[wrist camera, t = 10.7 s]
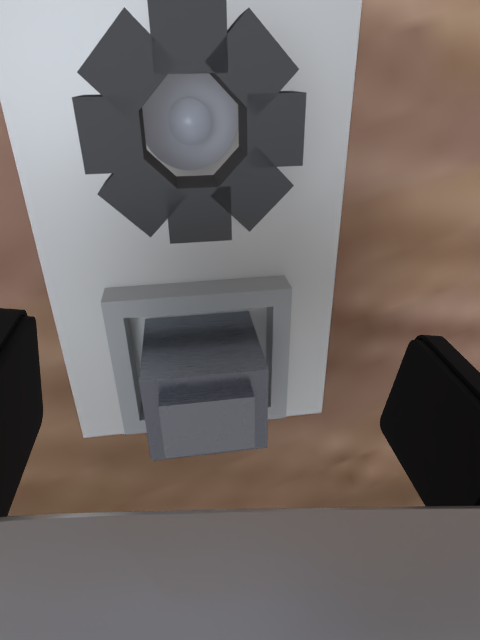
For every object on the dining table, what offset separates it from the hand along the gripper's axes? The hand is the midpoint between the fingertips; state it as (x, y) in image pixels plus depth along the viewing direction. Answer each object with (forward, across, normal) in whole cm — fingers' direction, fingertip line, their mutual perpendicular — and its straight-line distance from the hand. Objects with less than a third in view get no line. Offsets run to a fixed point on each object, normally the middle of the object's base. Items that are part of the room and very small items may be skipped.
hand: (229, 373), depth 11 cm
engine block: (+14, -1, +8) cm, 16 cm away
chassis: (+15, 0, +2) cm, 15 cm away
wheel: (+7, +1, -5) cm, 9 cm away
